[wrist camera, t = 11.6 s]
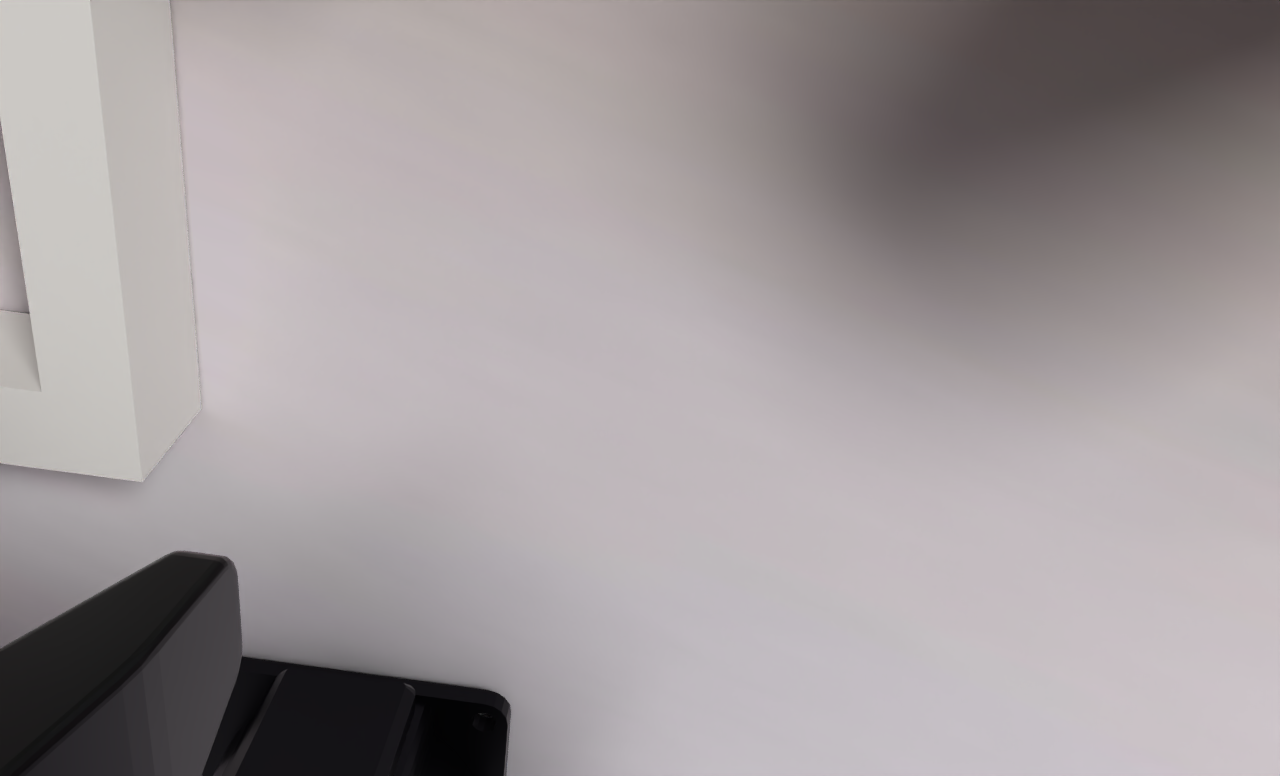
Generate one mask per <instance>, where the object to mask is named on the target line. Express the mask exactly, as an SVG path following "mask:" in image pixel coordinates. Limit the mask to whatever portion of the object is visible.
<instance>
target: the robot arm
mask: <svg viewBox="0 0 1280 776" xmlns="http://www.w3.org/2000/svg"><path fill="white" fill-rule="evenodd" d="M478 713H486V714H489V715H491V716H492V717H489V718H486V717H483V716H480V715H479V714H478ZM510 718H511V709H510V704H509V703H508V702H507V700H506V699H505V698H504V697H503V696H501V695H500V694H498V693H496V692H492V691H489V690H482V689H474V688H467V687H460V686H452V685H445V684H437V683H430V682H423V681H415V680H408V679H400V678H393V677H386V676H378V675H371V674H363V673H356V672H349V671H341V670H334V669H326V668H319V667H312V666H304V665H297V664H289V663H282V662H275V661H267V660H260V659H252V658H245V657H242V633H241V618H240V603H239V588H238V575H237V571H236V568H235V565H234V563H233V562H232V561H231V560H230V559H229V558H227V557H225V556H220V555H213V554H205V553H198V552H191V551H175V552H172V553H169V554H167V555H165V556H163V557H162V558H160V559H158V560H156V561H154V562H153V563H151V564H149V565H147V566H146V567H144V568H142V569H140V570H139V571H137V572H135V573H133V574H131V575H130V576H128V577H126V578H124V579H123V580H121V581H119V582H117V583H116V584H114V585H112V586H110V587H108V588H107V589H105V590H103V591H101V592H100V593H98V594H96V595H94V596H93V597H91V598H89V599H87V600H85V601H84V602H82V603H80V604H78V605H77V606H75V607H73V608H71V609H70V610H68V611H66V612H64V613H62V614H61V615H59V616H57V617H55V618H54V619H52V620H50V621H48V622H47V623H45V624H43V625H41V626H39V627H38V628H36V629H34V630H32V631H31V632H29V633H27V634H25V635H24V636H22V637H20V638H18V639H16V640H15V641H13V642H11V643H9V644H8V645H6V646H4V647H2V648H1V649H0V776H506V770H507V757H508V744H509V731H510Z"/></svg>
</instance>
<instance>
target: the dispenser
mask: <svg viewBox="0 0 1280 776" xmlns="http://www.w3.org/2000/svg"><path fill="white" fill-rule="evenodd" d="M0 120H1V127H2V134H3V140H4V147H5V153H6V160H7V167H8V173H9V180H10V187H11V193H12V200H13V206H14V213H15V220H16V226H17V233H18V239H19V246H20V253H21V259H22V266H23V272H24V279H25V286H26V292H27V299H28V305H29V312H30V314H27V313H19V312H12V311H4V310H0V463H2V464H9V465H17V466H24V467H32V468H39V469H47V470H54V471H62V472H69V473H77V474H84V475H92V476H99V477H107V478H114V479H122V480H129V481H136V482H143V481H144V480H145V479H146V477H147V476H148V475H149V474H150V472H151V471H152V470H153V469H154V467H155V466H156V465H157V464H158V462H159V461H160V460H161V459H162V457H163V456H164V455H165V454H166V452H167V451H168V450H169V449H170V447H171V446H172V445H173V444H174V442H175V441H176V440H177V439H178V437H179V436H180V435H181V434H182V432H183V431H184V430H185V429H186V427H187V426H188V425H189V424H190V422H191V421H192V420H193V419H194V417H195V416H196V415H197V414H198V412H199V411H200V410H201V409H202V406H201V393H200V381H199V368H198V355H197V342H196V329H195V317H194V304H193V291H192V278H191V265H190V252H189V240H188V227H187V214H186V201H185V188H184V175H183V163H182V150H181V137H180V124H179V111H178V99H177V86H176V73H175V60H174V47H173V34H172V22H171V9H170V0H0Z"/></svg>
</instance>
